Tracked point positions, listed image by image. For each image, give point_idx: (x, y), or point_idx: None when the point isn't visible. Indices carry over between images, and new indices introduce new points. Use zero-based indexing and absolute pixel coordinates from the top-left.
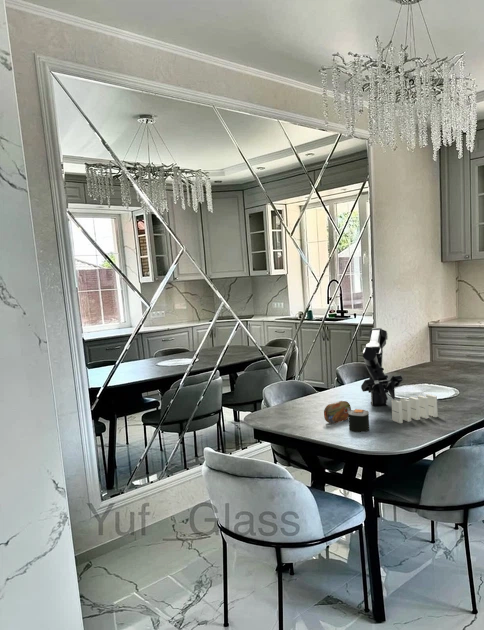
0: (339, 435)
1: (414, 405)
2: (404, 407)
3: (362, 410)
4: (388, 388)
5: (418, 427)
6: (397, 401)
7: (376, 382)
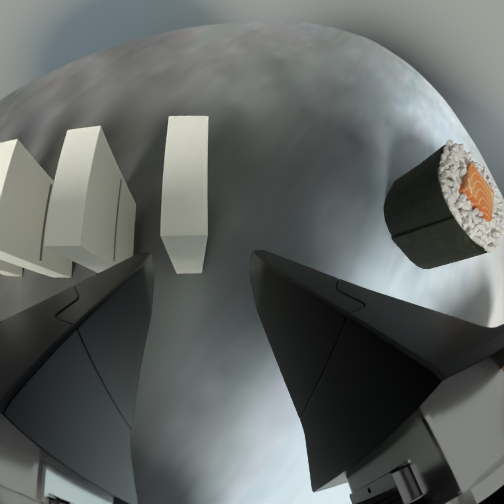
0: None
1: (35, 188)
2: (111, 202)
3: (469, 177)
4: (116, 441)
5: (165, 107)
6: (192, 146)
7: (502, 428)
